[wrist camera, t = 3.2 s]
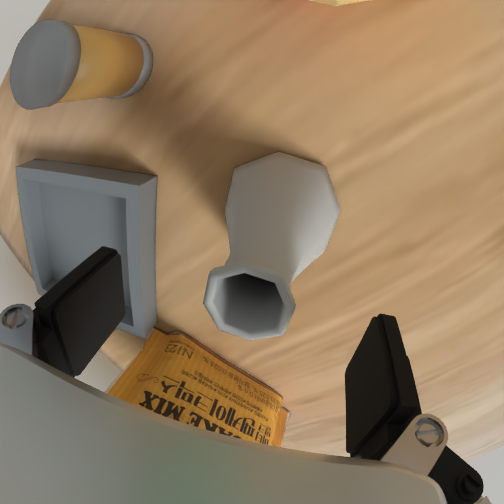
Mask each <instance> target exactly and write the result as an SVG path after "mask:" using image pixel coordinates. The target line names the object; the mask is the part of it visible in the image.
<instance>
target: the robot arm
mask: <svg viewBox="0 0 504 504" xmlns="http://www.w3.org/2000/svg"><path fill="white" fill-rule="evenodd" d="M35 306H36V308H35V309H34V310H31V308H30V307H29V306H27V305H25V304H15V305H11V306H9V307H7V308H6V309H5V310H3V311H2V313H1V314H0V504H491V502H490V501H489V499H488V498H487V496H486V497H484V498H483V497H482V496H481V495H482V492H483V481H482V478H481V476H480V475H479V473H478V472H477V471H476V470H474V469H473V468H472V467H471V466H470V465H468V464H467V463H466V462H465V461H464V460H463V459H461V458H460V457H459V456H458V455H457V454H456V453H454V452H453V451H452V450H451V449H450V448H448V447H447V446H446V443H447V440H448V432H447V429H446V427H445V425H444V423H443V422H442V421H441V420H440V419H439V418H437V417H436V416H434V415H431V414H422V412H421V407H420V403H419V398H418V394H417V389H416V385H415V381H414V377H413V373H412V369H411V365H410V361H409V358H408V356H406V352H405V348H404V345H403V341H402V337H401V334H400V330H399V327H398V324H397V320H396V318H395V317H394V316H390V315H385V314H379V315H378V316H377V317H373V318H372V320H371V322H370V324H369V326H368V328H367V330H366V332H365V334H364V336H363V338H362V340H361V342H360V344H359V346H358V348H357V349H356V351H355V353H354V355H353V357H352V359H351V361H350V363H349V364H348V366H347V368H346V372H345V393H346V451H347V453H350V457H343V456H334V455H326V454H319V453H312V452H305V451H299V450H293V449H287V448H281V447H276V446H271V445H266V444H261V443H256V442H252V441H247V440H243V439H239V438H235V437H231V436H227V435H223V434H219V433H216V432H212V431H209V430H205V429H202V428H198V427H195V426H192V425H189V424H185V423H182V422H179V421H176V420H173V419H170V418H167V417H165V416H162V415H159V414H156V413H153V412H151V411H148V410H146V409H143V408H140V407H138V406H135V405H133V404H130V403H128V402H125V401H123V400H121V399H118V398H116V397H114V396H111V395H109V394H107V393H105V392H102V391H100V390H98V389H96V388H93V387H92V386H90V385H87V384H85V383H83V382H81V381H79V380H77V379H75V378H74V377H75V376H78V375H80V374H81V372H82V371H83V370H84V369H85V367H86V366H87V365H88V363H89V362H90V361H91V359H92V358H93V357H94V355H95V354H96V353H97V351H98V350H99V349H100V347H101V346H102V345H103V344H104V342H105V341H106V340H107V338H108V337H109V336H110V335H111V333H112V332H113V331H114V329H115V328H116V327H117V326H118V324H119V323H120V322H121V321H122V319H123V318H124V316H125V300H124V289H123V277H122V261H121V255H120V254H118V251H117V250H116V249H113V248H109V247H106V246H102V247H100V248H99V249H98V250H97V251H95V252H94V253H93V254H92V255H90V256H89V257H88V258H87V259H85V260H84V261H83V262H82V263H80V264H79V265H78V266H77V267H76V268H74V269H73V270H72V271H71V272H70V273H68V274H67V275H66V276H65V277H64V278H62V279H61V280H60V281H59V282H58V283H57V284H55V285H54V286H53V287H52V288H51V289H50V290H49V291H47V292H46V293H45V294H44V295H43V296H42V297H41V298H40V299H38V300H37V301H36V302H35Z"/></svg>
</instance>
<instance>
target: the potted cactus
mask: <svg viewBox="0 0 504 504" xmlns="http://www.w3.org/2000/svg"><path fill="white" fill-rule="evenodd" d="M309 1H314V2H319V3H324V4H328V5H333V6H338V5H344V4H349V3H355V2H361V1H368V0H309Z"/></svg>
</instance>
